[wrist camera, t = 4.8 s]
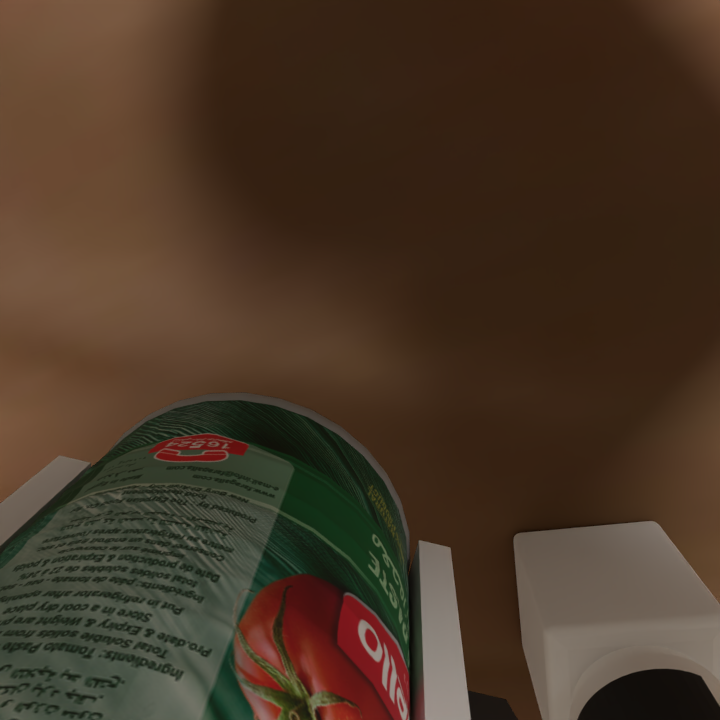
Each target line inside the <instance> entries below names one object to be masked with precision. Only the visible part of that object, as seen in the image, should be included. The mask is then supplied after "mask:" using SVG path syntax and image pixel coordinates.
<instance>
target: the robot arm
mask: <svg viewBox="0 0 720 720" xmlns="http://www.w3.org/2000/svg"><path fill="white" fill-rule="evenodd" d="M90 467H91V463H89V462H85V461H81V460H77V459H72V458H68V457H64V456H60V455H59V456H58V457H57V458H56V459H54V460H53V461H52V462H51V463H50V464H48V465H47V466H46V467H45V468H43V469H42V470H41V471H40V472H38V473H37V474H36V475H35V476H34V477H32V478H31V479H30V480H29V481H27V482H26V483H25V484H24V485H22V486H21V487H20V488H19V489H18V490H16V491H15V492H14V493H13V494H11V495H10V496H9V497H8V498H6V499H5V500H4V501H3V502H2V503H0V554H1V553H2V552H3V551H4V550H5V549H6V547H7V546H8V545H9V544H10V543H11V541H12V540H13V539H15V538H16V537H17V536H19V535H20V534H21V533H23V532H24V531H25V530H27V529H28V528H29V527H30V526H31V525H32V524H33V522H34V521H35V520H36V519H37V518H38V516H39V515H40V514H41V513H42V512H44V511H45V510H46V509H48V508H49V507H50V506H52V505H53V504H54V503H55V502H56V501H57V500H58V499H59V498H60V496H61V495H62V494H63V493H64V492H65V490H67V489H68V488H69V487H71V486H72V485H73V484H75V483H76V482H78V480H79V479H80V478H81V477H82V476H83V474H84V473H85V472H86V471H87V470H88V469H89V468H90ZM408 587H409V611H410V613H409V634H410V644H409V660H410V677H409V690H410V717H409V720H518V719H517V717H516V716H515V714H514V712H513V711H512V709H511V707H510V706H509V704H508V702H507V700H506V699H501V698H497V697H493V696H489V695H485V694H480V693H476V692H472V691H468V690H467V683H466V674H465V666H464V657H463V649H462V641H461V632H460V624H459V615H458V607H457V599H456V590H455V582H454V573H453V565H452V557H451V548H450V547H446V546H442V545H438V544H434V543H429V542H425V541H421V540H419V541H418V545H417V548H416V552H415V555H414V558H413V562H412V565H411V568H410V572H409V575H408Z"/></svg>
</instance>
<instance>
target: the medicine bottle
mask: <svg viewBox="0 0 720 720" xmlns="http://www.w3.org/2000/svg"><path fill="white" fill-rule="evenodd" d="M513 543H514V555H515V566H516V578H517V590H518V602H519V613H520V625H521V637H522V646H523V650H524V654H525V657H526V661H527V665H528V669H529V672H530V676H531V680H532V683H533V687H534V691H535V695H536V698H537V702H538V706H539V709H540V713H541V717H542V720H720V604H719V602H718V601H717V600H716V599H715V597H714V596H713V595H712V593H711V592H710V591H709V589H708V588H707V587H706V585H705V584H704V583H703V582H702V580H701V579H700V578H699V576H698V575H697V574H696V572H695V571H694V570H693V568H692V567H691V566H690V565H689V563H688V562H687V561H686V559H685V558H684V557H683V555H682V554H681V553H680V551H679V550H678V549H677V548H676V546H675V545H674V544H673V542H672V541H671V540H670V538H669V537H668V536H667V534H666V533H665V532H664V531H663V529H662V528H661V527H660V525H659V524H657V523H656V522H654V521H644V522H633V523H622V524H611V525H600V526H589V527H578V528H568V529H557V530H546V531H535V532H524V533H518V534H516V535H515V536H514V540H513Z"/></svg>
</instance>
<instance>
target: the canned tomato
mask: <svg viewBox="0 0 720 720" xmlns="http://www.w3.org/2000/svg"><path fill="white" fill-rule="evenodd" d="M409 566H410V540H409V529H408V526H407V522H406V518H405V515H404V511H403V507H402V503H401V500H400V498H399V496H398V494H397V493H396V491H395V489H394V487H393V485H392V483H391V481H390V479H389V477H388V475H387V473H386V472H385V471H384V470H383V468H382V467H381V466H380V465H379V463H378V462H377V461H376V460H375V458H374V457H373V456H372V455H371V453H370V452H369V451H368V450H367V448H366V447H364V446H363V445H362V444H361V443H360V442H358V441H357V440H356V439H355V438H354V437H353V436H351V435H350V434H349V433H348V432H347V431H346V430H344V429H343V428H342V427H341V426H339V425H337V424H336V423H334V422H332V421H330V420H329V419H327V418H325V417H323V416H322V415H320V414H318V413H316V412H315V411H313V410H311V409H308V408H305V407H303V406H300V405H297V404H294V403H291V402H288V401H286V400H283V399H280V398H276V397H269V396H263V395H257V394H250V393H212V394H206V395H202V396H198V397H193V398H189V399H184V400H180V401H177V402H175V403H173V404H171V405H169V406H166V407H164V408H162V409H160V410H158V411H156V412H153V413H151V414H149V415H148V416H147V417H145V418H144V419H143V420H141V421H140V422H139V423H137V424H136V425H135V426H133V427H132V428H131V429H129V430H128V431H127V432H125V433H124V434H123V435H122V437H121V438H120V439H119V440H118V441H117V443H116V444H115V445H114V446H113V447H112V449H111V450H110V451H109V452H108V453H107V454H106V455H105V456H104V457H103V458H102V459H101V460H99V461H98V462H97V463H96V464H95V465H93V466H92V467H91V468H89V469H88V470H87V471H86V472H85V473H84V474H83V476H82V477H81V478H80V479H79V480H78V482H76V483H75V484H73V485H72V486H71V487H69V488H68V489H67V490H65V492H64V493H63V494H62V495H61V496H60V498H59V499H58V500H57V501H56V502H55V503H54V504H53V505H52V506H50V507H49V508H48V509H46V510H45V511H44V512H42V513H41V514H40V515H39V516H38V518H37V519H36V520H35V521H34V522H33V524H32V525H31V526H30V527H29V528H28V529H27V530H25V531H24V532H23V533H21V534H20V535H19V536H17V537H16V538H15V539H13V540H12V541H11V543H10V544H9V545H8V546H7V547H6V549H5V550H4V551H3V552H2V553H1V554H0V720H409V717H410V690H409V677H410V660H409V644H410V634H409V613H410V611H409V587H408V571H409Z"/></svg>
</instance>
